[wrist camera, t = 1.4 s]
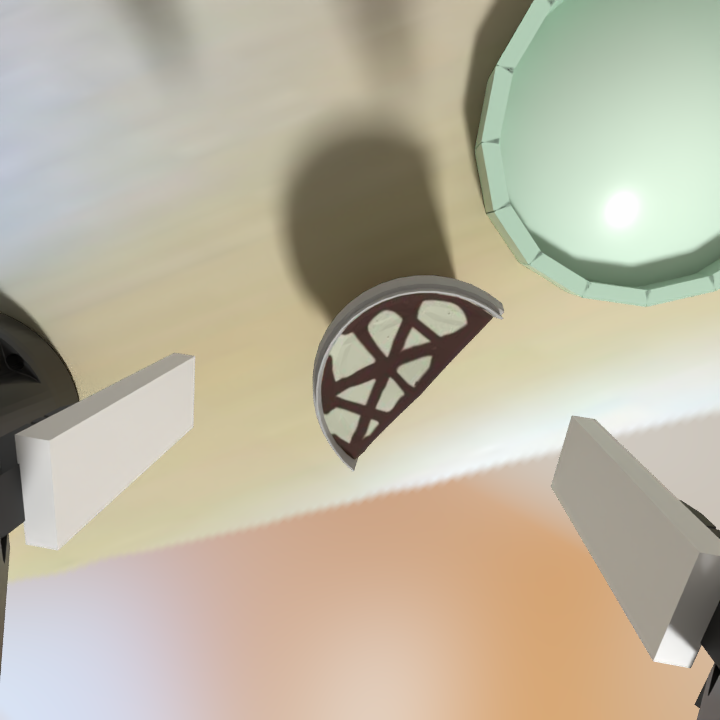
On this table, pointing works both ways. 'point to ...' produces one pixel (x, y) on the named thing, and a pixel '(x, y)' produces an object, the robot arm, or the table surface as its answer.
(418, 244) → the table surface
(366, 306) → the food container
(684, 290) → the tray
